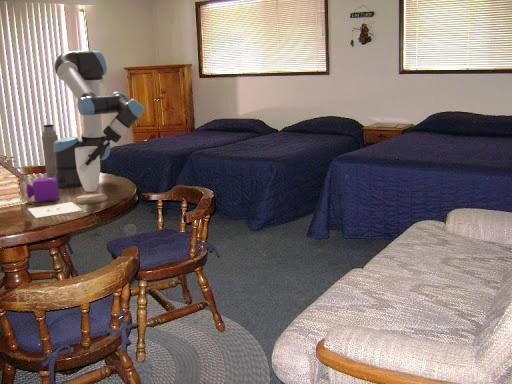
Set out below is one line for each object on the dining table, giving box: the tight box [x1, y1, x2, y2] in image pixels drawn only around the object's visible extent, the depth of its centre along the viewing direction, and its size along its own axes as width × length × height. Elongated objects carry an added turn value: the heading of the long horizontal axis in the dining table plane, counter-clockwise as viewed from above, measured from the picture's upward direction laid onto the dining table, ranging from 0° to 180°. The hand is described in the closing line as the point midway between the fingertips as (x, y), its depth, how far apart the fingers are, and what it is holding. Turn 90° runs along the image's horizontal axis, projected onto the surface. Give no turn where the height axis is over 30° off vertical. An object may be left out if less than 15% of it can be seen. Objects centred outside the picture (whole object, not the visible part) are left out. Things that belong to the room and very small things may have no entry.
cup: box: [75, 146, 101, 192], centre depth 239 cm, size 10×10×22 cm
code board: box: [27, 201, 84, 219], centre depth 227 cm, size 18×18×1 cm
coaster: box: [75, 193, 108, 205], centre depth 241 cm, size 13×13×2 cm
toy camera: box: [25, 177, 60, 203], centre depth 244 cm, size 11×14×10 cm
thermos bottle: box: [41, 124, 59, 178], centre depth 299 cm, size 8×8×28 cm
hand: (82, 167), depth 238 cm, fingers open, 13 cm apart
